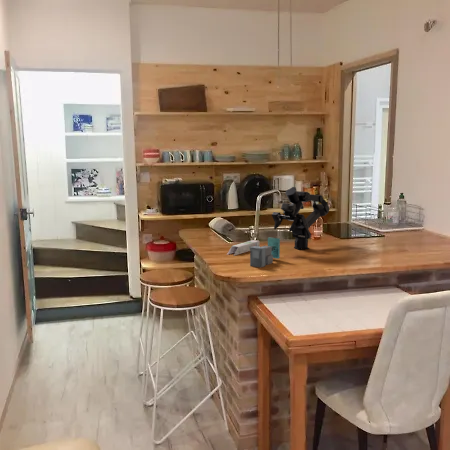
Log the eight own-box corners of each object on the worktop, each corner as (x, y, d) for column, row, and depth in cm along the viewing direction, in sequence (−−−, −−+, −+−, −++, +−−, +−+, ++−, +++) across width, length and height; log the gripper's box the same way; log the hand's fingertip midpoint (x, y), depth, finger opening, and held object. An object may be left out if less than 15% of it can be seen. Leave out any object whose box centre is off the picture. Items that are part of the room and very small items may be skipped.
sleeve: (262, 261, 249) (262, 245, 247) (273, 262, 245) (273, 246, 244) (256, 263, 244) (256, 247, 242) (267, 265, 240) (267, 248, 239)
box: (259, 248, 282) (230, 257, 259) (252, 247, 284) (223, 256, 262) (259, 240, 281) (230, 249, 259) (252, 240, 284) (223, 248, 261)
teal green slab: (269, 256, 254) (269, 237, 252) (279, 258, 251) (279, 238, 249) (255, 261, 243) (256, 241, 241) (266, 263, 240) (266, 242, 238)
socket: (254, 264, 242) (254, 246, 241) (265, 265, 239) (265, 247, 237) (250, 265, 239) (250, 247, 237) (261, 267, 235) (261, 248, 234)
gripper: (274, 197, 270) (261, 217, 262) (305, 199, 258) (292, 220, 250) (281, 211, 277) (269, 232, 269) (311, 214, 265) (299, 235, 257)
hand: (282, 229), depth 261 cm, fingers open, 9 cm apart
